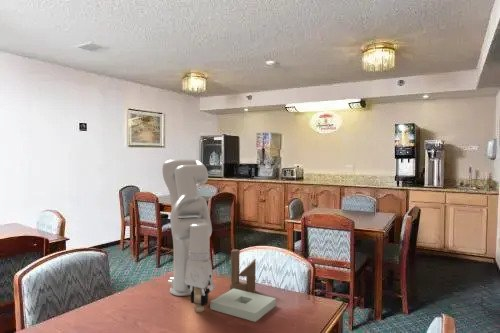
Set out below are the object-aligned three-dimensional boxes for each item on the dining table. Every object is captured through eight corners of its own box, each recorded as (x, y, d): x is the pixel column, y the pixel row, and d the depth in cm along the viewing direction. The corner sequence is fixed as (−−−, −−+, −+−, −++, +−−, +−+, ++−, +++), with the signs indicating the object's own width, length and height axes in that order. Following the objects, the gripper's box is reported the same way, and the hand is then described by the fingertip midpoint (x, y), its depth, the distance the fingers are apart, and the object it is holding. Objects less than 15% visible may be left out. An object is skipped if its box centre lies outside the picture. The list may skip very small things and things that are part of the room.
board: (210, 309, 133) (210, 301, 133) (233, 295, 147) (233, 288, 147) (255, 321, 123) (255, 313, 123) (275, 305, 137) (275, 298, 137)
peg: (191, 311, 132) (191, 284, 132) (198, 307, 135) (198, 281, 135) (200, 313, 130) (200, 287, 129) (206, 309, 133) (207, 283, 133)
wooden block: (254, 293, 150) (255, 252, 149) (230, 292, 151) (230, 251, 150) (255, 290, 153) (255, 249, 153) (231, 289, 154) (231, 249, 154)
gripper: (176, 254, 133) (175, 302, 133) (211, 261, 125) (210, 312, 125) (189, 250, 140) (188, 295, 140) (223, 256, 131) (222, 304, 131)
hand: (199, 302), depth 132 cm, fingers closed on peg, 4 cm apart
